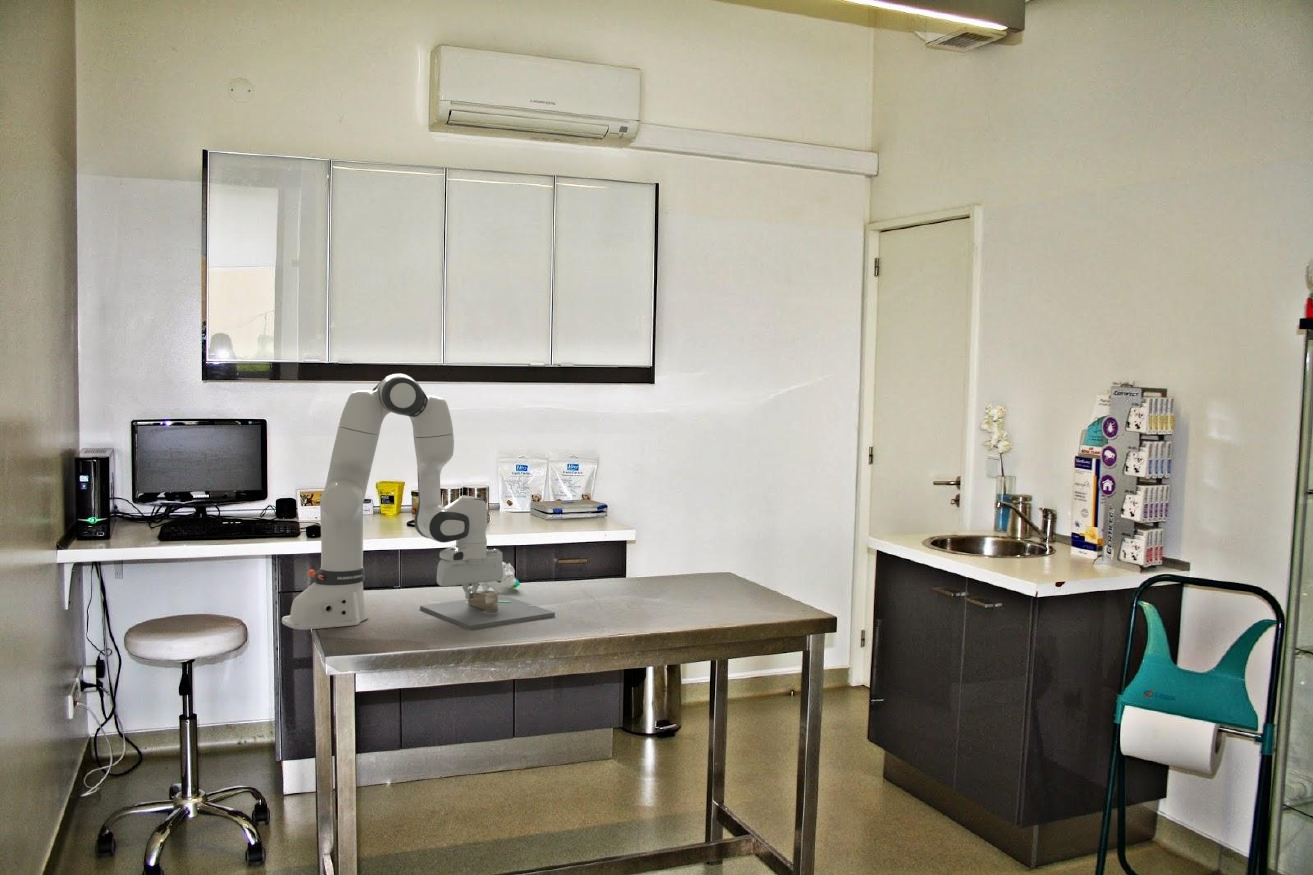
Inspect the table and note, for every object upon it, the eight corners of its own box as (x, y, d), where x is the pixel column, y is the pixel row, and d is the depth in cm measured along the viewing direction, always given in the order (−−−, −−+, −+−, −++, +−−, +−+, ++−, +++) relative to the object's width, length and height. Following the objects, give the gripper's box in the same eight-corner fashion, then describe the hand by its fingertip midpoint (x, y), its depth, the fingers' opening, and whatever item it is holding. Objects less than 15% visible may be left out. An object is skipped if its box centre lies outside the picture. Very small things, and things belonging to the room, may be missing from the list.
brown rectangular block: (489, 613, 283) (489, 595, 282) (464, 603, 293) (465, 586, 293) (500, 611, 285) (500, 593, 285) (475, 602, 296) (476, 585, 295)
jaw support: (503, 586, 312) (489, 562, 316) (489, 603, 316) (475, 579, 320) (531, 581, 321) (516, 558, 325) (517, 598, 325) (503, 575, 329)
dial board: (469, 630, 269) (469, 624, 269) (420, 609, 290) (420, 605, 290) (554, 616, 288) (554, 611, 288) (502, 598, 309) (502, 594, 309)
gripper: (497, 546, 299) (496, 592, 300) (434, 552, 286) (433, 600, 287) (507, 549, 294) (506, 596, 295) (444, 556, 281) (443, 604, 282)
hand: (470, 598), depth 291 cm, fingers closed
